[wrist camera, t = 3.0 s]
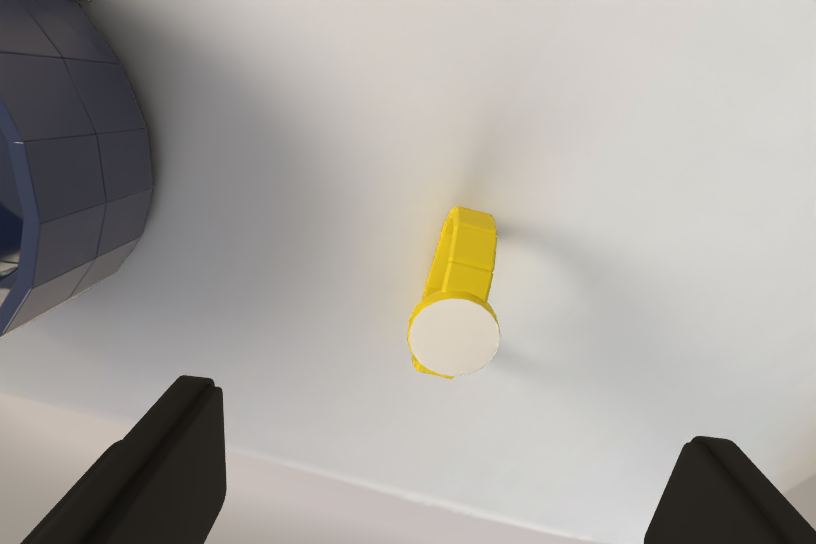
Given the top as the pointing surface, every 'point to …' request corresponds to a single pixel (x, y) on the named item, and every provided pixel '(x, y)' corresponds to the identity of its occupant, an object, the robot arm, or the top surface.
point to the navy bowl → (64, 159)
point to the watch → (457, 300)
